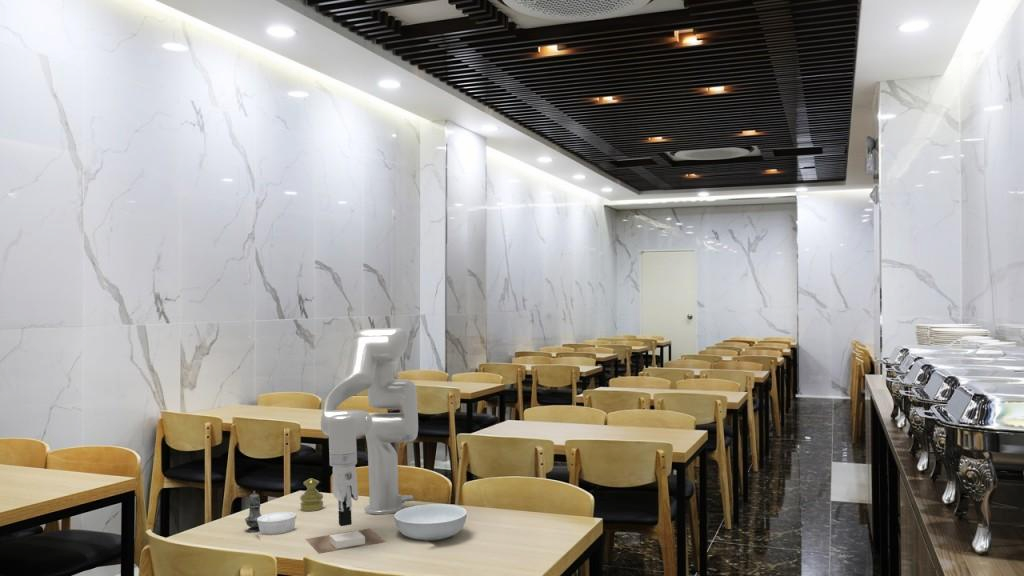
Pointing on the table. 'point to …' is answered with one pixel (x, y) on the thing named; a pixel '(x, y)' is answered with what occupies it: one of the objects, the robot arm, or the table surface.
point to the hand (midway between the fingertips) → (345, 524)
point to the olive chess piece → (311, 496)
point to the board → (324, 546)
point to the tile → (347, 539)
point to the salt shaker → (253, 513)
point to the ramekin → (276, 522)
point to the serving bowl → (430, 521)
